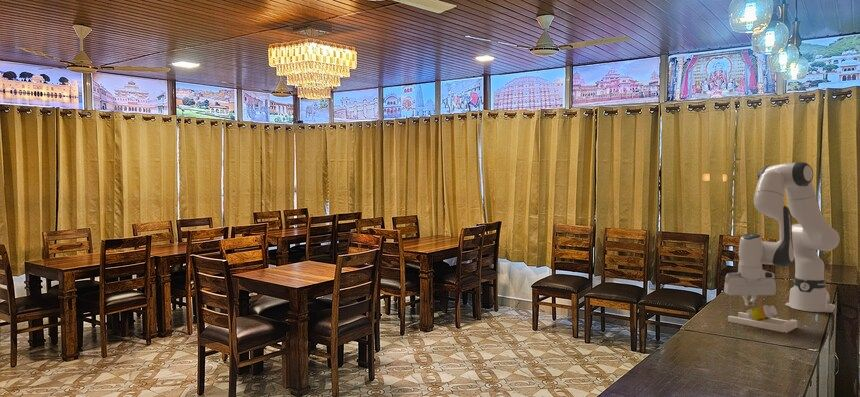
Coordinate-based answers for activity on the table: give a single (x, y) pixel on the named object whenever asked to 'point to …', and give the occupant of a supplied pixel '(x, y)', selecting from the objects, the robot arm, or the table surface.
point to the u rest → (765, 323)
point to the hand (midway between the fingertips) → (749, 305)
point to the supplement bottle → (761, 313)
